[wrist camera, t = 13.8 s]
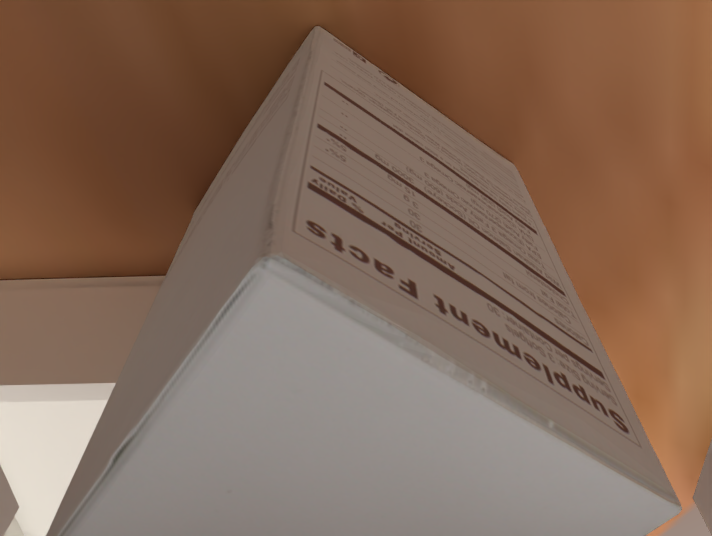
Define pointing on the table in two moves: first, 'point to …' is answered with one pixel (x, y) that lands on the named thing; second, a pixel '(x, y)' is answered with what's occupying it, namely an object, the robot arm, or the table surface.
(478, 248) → the supplement box
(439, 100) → the table surface
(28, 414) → the box
